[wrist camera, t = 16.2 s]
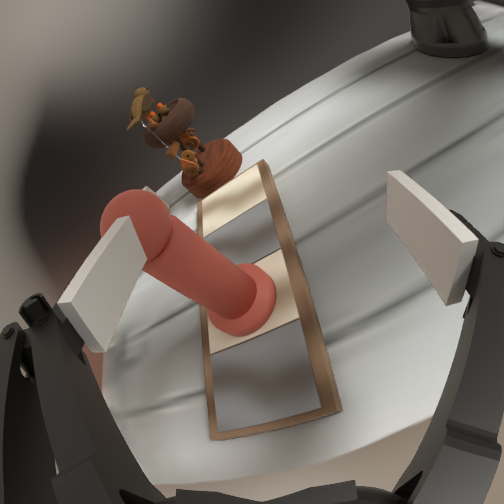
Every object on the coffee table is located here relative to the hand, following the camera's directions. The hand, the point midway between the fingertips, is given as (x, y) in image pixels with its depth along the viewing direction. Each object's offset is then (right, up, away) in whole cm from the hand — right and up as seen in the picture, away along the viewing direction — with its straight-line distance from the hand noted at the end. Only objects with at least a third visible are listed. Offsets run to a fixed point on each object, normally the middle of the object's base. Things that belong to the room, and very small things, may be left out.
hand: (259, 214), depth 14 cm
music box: (-6, +12, +35) cm, 38 cm away
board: (-1, -4, +18) cm, 19 cm away
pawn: (-1, -7, +15) cm, 16 cm away
